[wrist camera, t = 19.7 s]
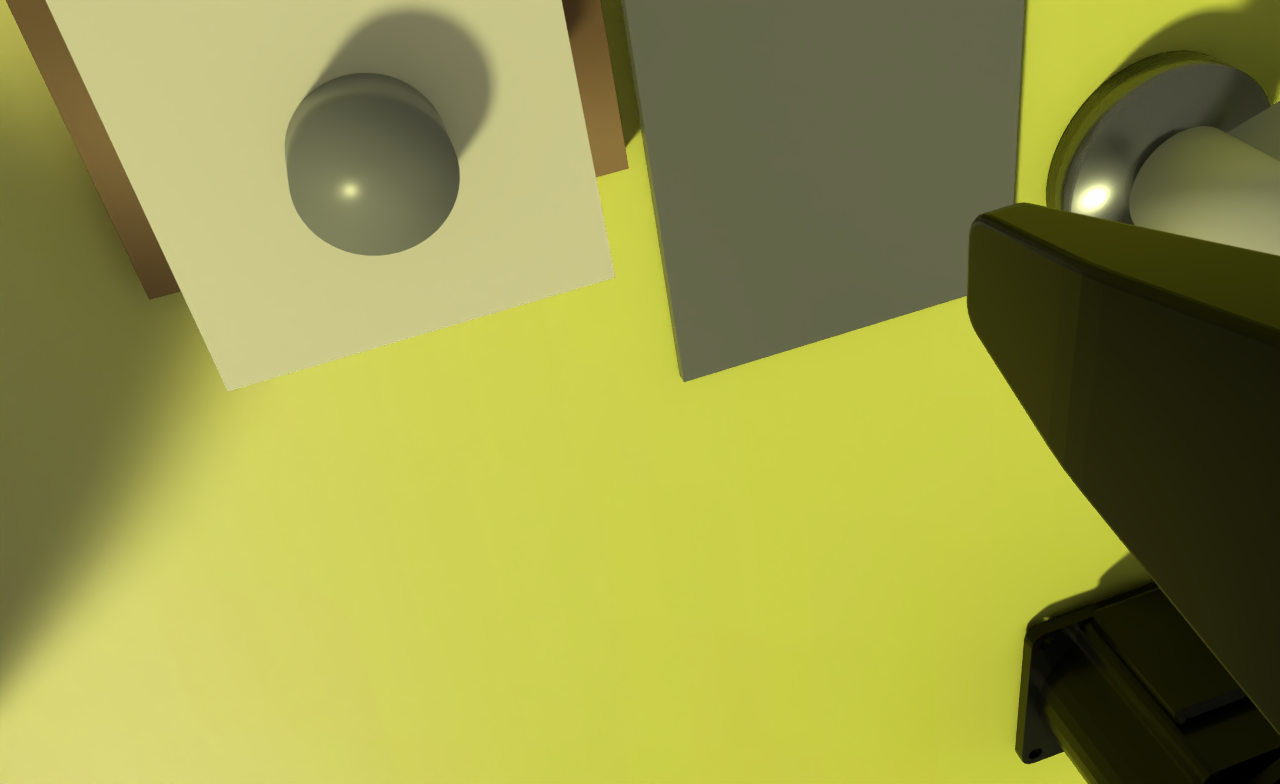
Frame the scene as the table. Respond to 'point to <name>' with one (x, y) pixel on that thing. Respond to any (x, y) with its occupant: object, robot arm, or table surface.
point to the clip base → (1143, 127)
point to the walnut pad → (121, 197)
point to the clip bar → (1215, 185)
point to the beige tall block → (346, 163)
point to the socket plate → (818, 160)
